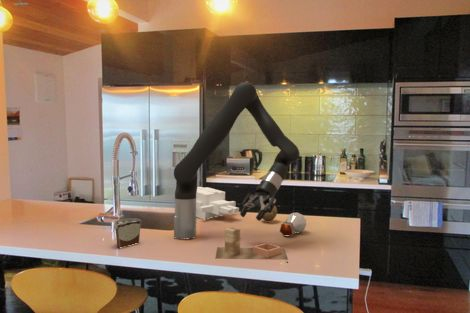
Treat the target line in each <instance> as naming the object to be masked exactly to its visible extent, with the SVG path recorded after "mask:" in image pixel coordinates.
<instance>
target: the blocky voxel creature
mask: <svg viewBox="0 0 470 313" xmlns="http://www.w3.org/2000/svg"><path fill="white" fill-rule="evenodd" d="M236 202H237V201H235V200H231V201H228V200H226V191H223V190H219V189H215V188H212V187H209V186H208V187H207V186H206V187H203V186H197V193H196V218H197V219H201V218H204V219H206V218H210V217H215V216H220V215H224V216H225V215H233V214H238V213H240V207H237V206H236V204H237V203H236ZM204 219H203V220H204Z"/></svg>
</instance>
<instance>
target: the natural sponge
mask: <svg viewBox="0 0 470 313" xmlns="http://www.w3.org/2000/svg"><path fill="white" fill-rule="evenodd" d="M267 205H268V203H267ZM269 209H270V208H269ZM260 210H262V209H261V208H260V209H259V211H260ZM277 214H278V208H277V206H276V205H275V206H274V208H273V210H272V211H271V213H269V212H267V213H266V214H265V215H264V216H263V218H262V219H261V220H263V221H264V222H266V221H271V222H272V221H273V220H274V219H275V218H276V217H277Z"/></svg>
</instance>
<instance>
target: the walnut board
mask: <svg viewBox="0 0 470 313" xmlns="http://www.w3.org/2000/svg"><path fill="white" fill-rule="evenodd" d="M215 259H220V260H221V259H222V260H229V259H230V260H231V259H232V260H276V261H277V260H279V261H280V260H285V261H288V260H289V258H288V255H287V253H286V249H285V248H283V247H282V254H279V255H276V256H273V257H269V258H267V257H264V256H260V255H257V254H254V253H253V247H240V253H238V254H235V255H230V254H227V253H225V246H224V247H223V246H222V247H220V246H219V247H218V246H217V248H216V251H215Z"/></svg>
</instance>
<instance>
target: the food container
mask: <svg viewBox="0 0 470 313" xmlns="http://www.w3.org/2000/svg"><path fill="white" fill-rule="evenodd" d="M142 224H143V222H142V220H141V218H122V219H118V220H116V221H115V222H114V224H113V228H114V229H115V238H116V246H118V247H119V248H118V247H117V248H118V249H121V248H120V247H124V246H128V245H132V244H135V243H139V244H140V236H141V235H140V234H141V225H142ZM132 246H133V245H132ZM128 247H129V246H128ZM124 248H125V247H124Z"/></svg>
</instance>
